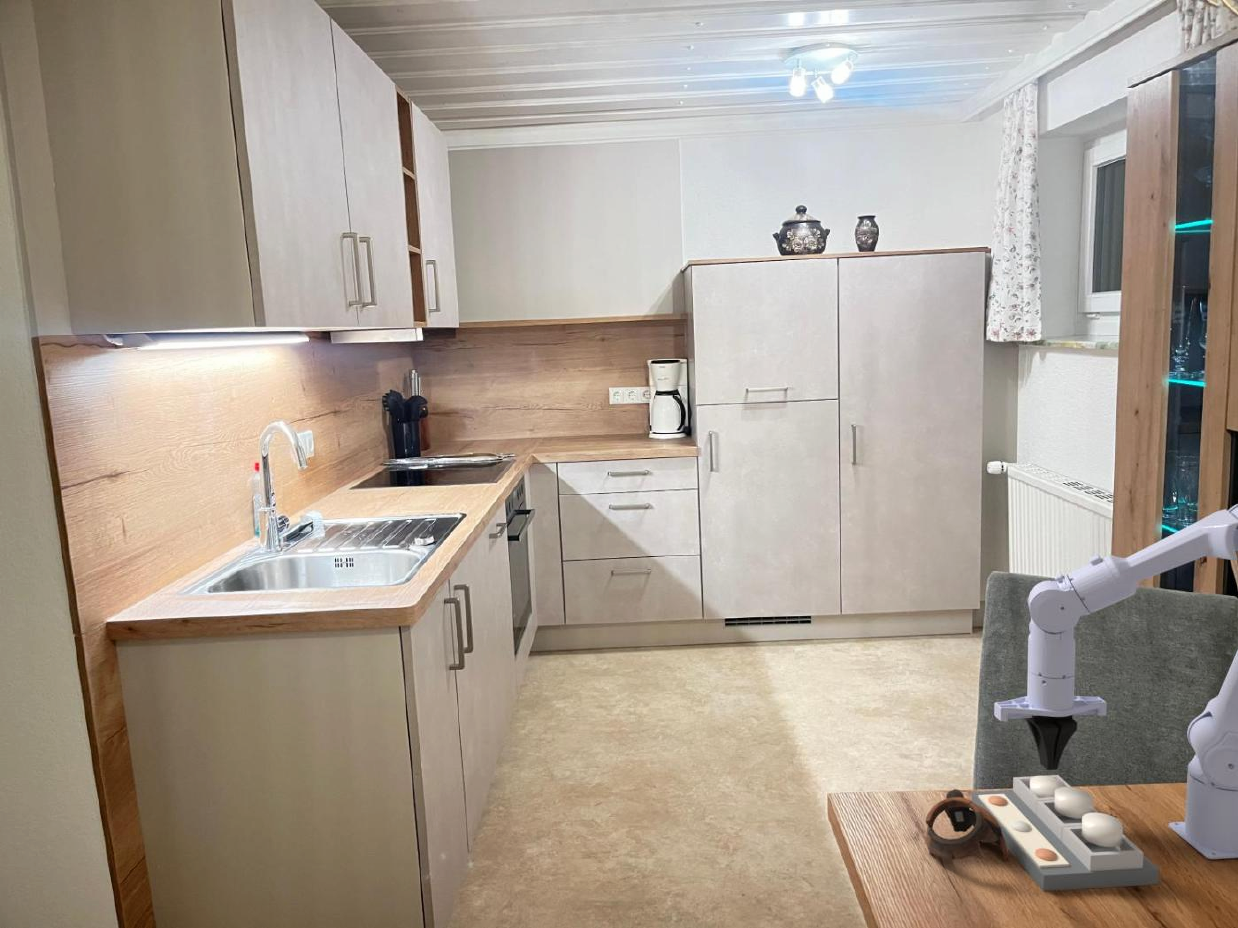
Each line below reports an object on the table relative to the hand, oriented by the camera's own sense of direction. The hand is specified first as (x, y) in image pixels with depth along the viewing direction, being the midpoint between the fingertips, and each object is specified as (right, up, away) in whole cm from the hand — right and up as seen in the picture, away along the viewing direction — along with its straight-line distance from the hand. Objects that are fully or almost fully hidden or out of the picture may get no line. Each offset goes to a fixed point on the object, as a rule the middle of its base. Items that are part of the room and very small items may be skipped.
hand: (1048, 766), depth 122 cm
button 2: (+1, -4, -12) cm, 13 cm away
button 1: (0, -4, +1) cm, 4 cm away
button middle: (0, -4, -6) cm, 7 cm away
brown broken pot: (-14, -9, -7) cm, 18 cm away
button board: (-2, -8, -6) cm, 10 cm away
